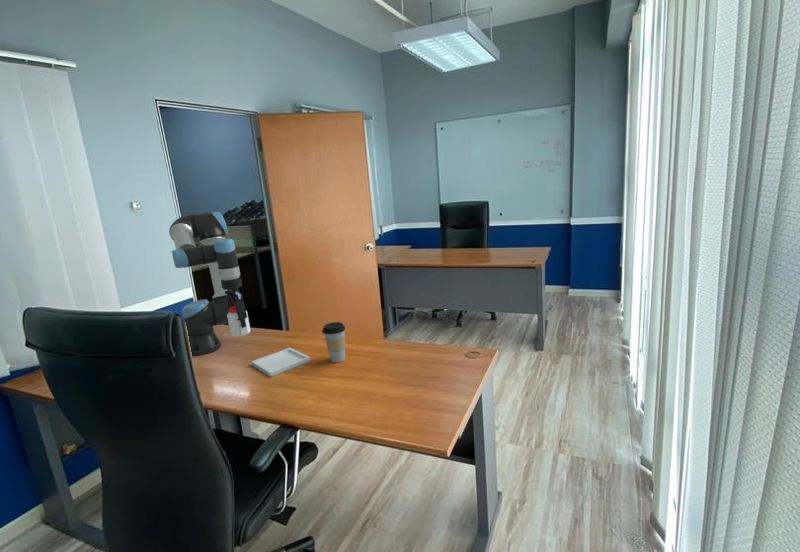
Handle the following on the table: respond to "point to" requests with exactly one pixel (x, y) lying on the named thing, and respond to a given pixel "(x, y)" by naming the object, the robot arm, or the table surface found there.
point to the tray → (280, 361)
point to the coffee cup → (335, 340)
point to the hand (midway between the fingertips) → (240, 332)
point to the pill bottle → (235, 322)
